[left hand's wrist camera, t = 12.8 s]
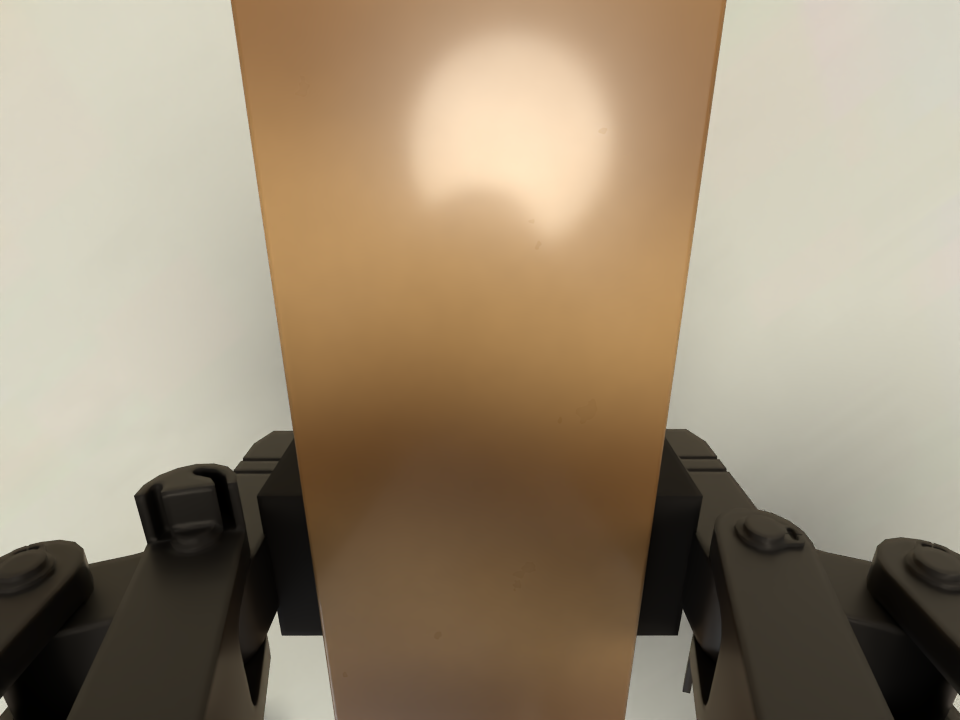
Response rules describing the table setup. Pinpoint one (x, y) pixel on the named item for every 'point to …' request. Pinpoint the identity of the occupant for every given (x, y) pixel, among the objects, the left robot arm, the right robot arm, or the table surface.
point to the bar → (479, 328)
